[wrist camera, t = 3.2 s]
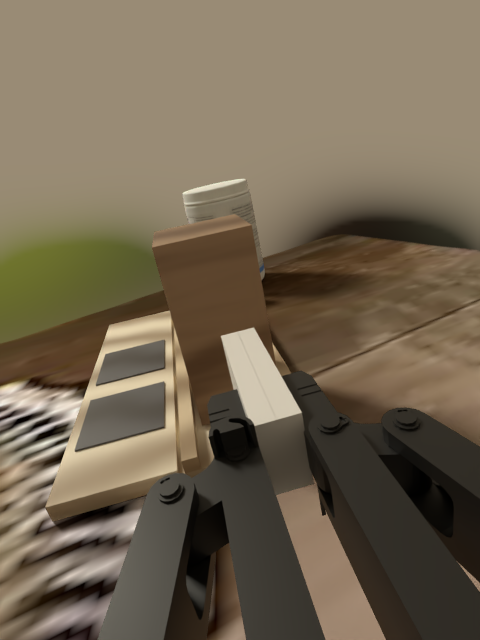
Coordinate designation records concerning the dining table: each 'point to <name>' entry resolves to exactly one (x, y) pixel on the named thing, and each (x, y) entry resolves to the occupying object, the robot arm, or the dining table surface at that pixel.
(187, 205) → the supplement tub
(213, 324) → the walnut block
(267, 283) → the dining table surface
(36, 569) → the dining table surface
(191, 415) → the box
